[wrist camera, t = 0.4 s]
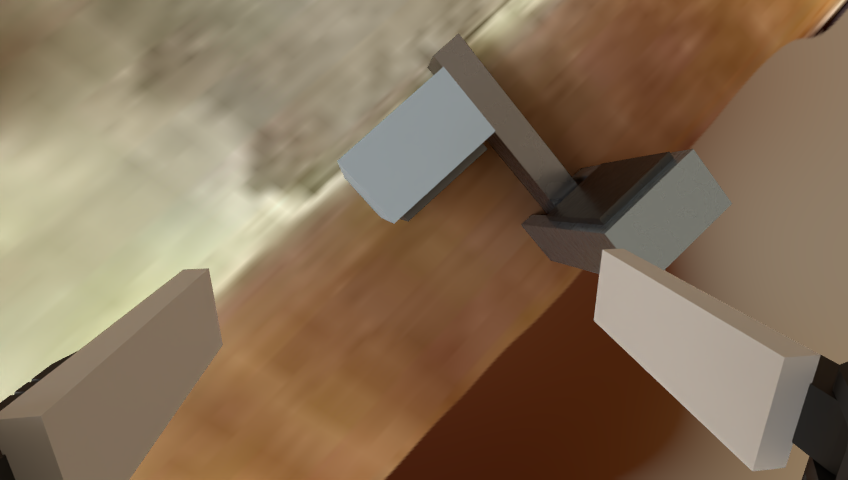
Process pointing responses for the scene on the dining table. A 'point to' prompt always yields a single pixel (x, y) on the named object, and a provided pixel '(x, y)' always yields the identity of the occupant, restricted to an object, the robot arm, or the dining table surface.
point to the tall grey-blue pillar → (417, 149)
